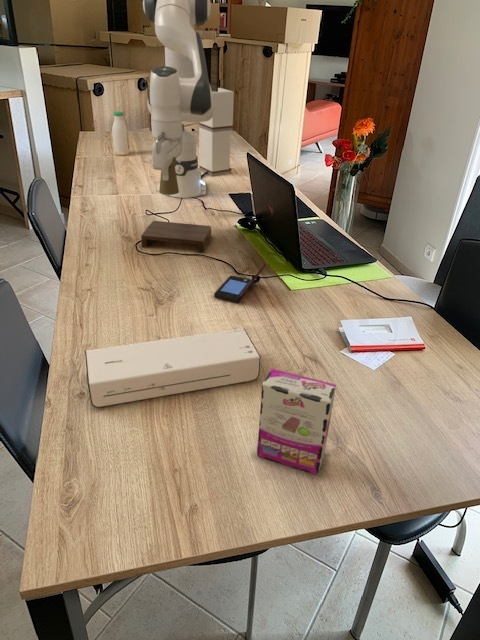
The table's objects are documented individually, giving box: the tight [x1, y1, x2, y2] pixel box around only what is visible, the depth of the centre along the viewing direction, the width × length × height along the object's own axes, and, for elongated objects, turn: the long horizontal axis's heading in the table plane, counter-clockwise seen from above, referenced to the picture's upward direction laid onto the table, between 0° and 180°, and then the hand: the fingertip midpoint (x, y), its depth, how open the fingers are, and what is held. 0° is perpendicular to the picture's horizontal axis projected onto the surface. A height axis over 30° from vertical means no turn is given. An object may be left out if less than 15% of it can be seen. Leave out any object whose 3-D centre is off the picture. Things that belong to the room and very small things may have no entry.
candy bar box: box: [256, 368, 337, 476], centre depth 82 cm, size 11×5×16 cm, turn 69°
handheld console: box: [213, 263, 267, 304], centre depth 133 cm, size 12×11×7 cm
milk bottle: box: [111, 110, 130, 156], centre depth 246 cm, size 8×8×20 cm
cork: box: [158, 157, 179, 196], centre depth 150 cm, size 6×6×11 cm
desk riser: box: [140, 220, 212, 254], centre depth 160 cm, size 13×20×4 cm, turn 82°
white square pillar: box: [198, 87, 235, 177], centre depth 222 cm, size 11×11×35 cm
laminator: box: [84, 327, 262, 409], centre depth 102 cm, size 34×12×6 cm, turn 107°
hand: (168, 177), depth 151 cm, fingers closed on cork, 4 cm apart
